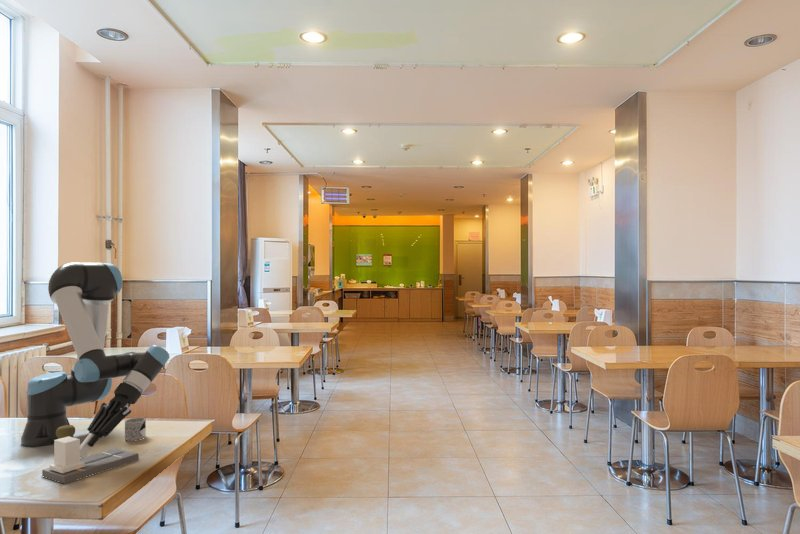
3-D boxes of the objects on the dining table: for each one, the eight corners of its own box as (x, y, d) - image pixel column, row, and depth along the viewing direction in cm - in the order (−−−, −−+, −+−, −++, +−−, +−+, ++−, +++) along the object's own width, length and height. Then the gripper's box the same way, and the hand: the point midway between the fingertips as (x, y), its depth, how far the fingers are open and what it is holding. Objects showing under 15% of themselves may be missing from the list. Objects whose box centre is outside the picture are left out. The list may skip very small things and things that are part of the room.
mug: (144, 440, 183) (144, 421, 183) (123, 442, 181) (123, 423, 181) (147, 432, 193) (147, 414, 193) (127, 434, 190) (127, 416, 190)
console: (116, 453, 168) (116, 447, 169) (138, 459, 162) (138, 452, 163) (42, 476, 149) (42, 469, 149) (64, 484, 143) (64, 476, 143)
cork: (81, 458, 164) (81, 424, 165) (63, 465, 159) (63, 429, 159) (67, 456, 166) (67, 422, 167) (49, 463, 161) (49, 427, 161)
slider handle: (71, 462, 154) (71, 435, 154) (84, 466, 151) (84, 438, 151) (49, 469, 149) (49, 440, 149) (62, 473, 145) (62, 444, 146)
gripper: (152, 396, 166) (100, 465, 152) (127, 392, 173) (76, 458, 158) (136, 383, 162) (81, 452, 147) (112, 379, 168) (57, 445, 154)
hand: (79, 455), depth 153 cm, fingers closed
